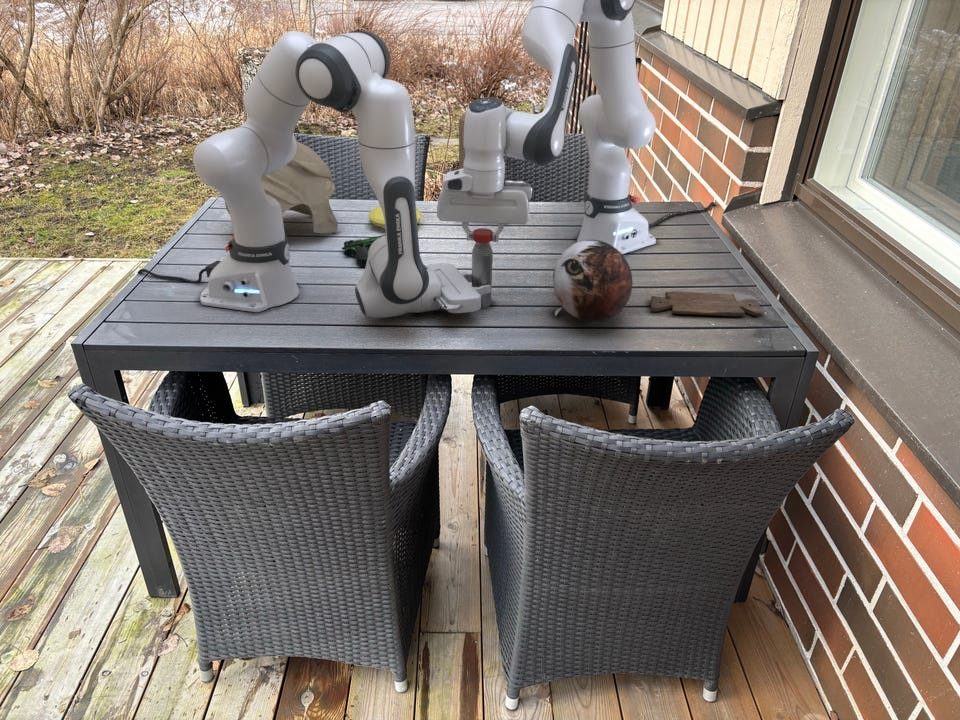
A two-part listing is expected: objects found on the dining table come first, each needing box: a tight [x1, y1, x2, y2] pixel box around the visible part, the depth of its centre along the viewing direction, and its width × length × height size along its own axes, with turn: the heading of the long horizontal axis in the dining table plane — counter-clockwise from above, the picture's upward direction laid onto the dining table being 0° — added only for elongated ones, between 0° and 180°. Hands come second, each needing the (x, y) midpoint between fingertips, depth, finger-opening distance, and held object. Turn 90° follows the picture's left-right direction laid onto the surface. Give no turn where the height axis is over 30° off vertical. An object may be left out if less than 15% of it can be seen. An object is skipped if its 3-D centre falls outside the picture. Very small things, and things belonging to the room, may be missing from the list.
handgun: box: [341, 234, 385, 268], centre depth 192 cm, size 16×3×15 cm
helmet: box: [224, 123, 339, 234], centre depth 198 cm, size 27×30×30 cm
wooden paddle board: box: [650, 291, 765, 317], centre depth 167 cm, size 26×2×10 cm
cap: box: [472, 227, 494, 243], centre depth 159 cm, size 4×4×2 cm
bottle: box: [471, 242, 494, 309], centre depth 163 cm, size 5×5×17 cm
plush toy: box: [552, 240, 633, 323], centre depth 159 cm, size 22×18×20 cm
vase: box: [367, 205, 423, 229], centre depth 210 cm, size 16×16×7 cm
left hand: (485, 282), depth 165 cm, fingers closed on bottle, 4 cm apart
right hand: (482, 240), depth 160 cm, fingers closed on cap, 4 cm apart
